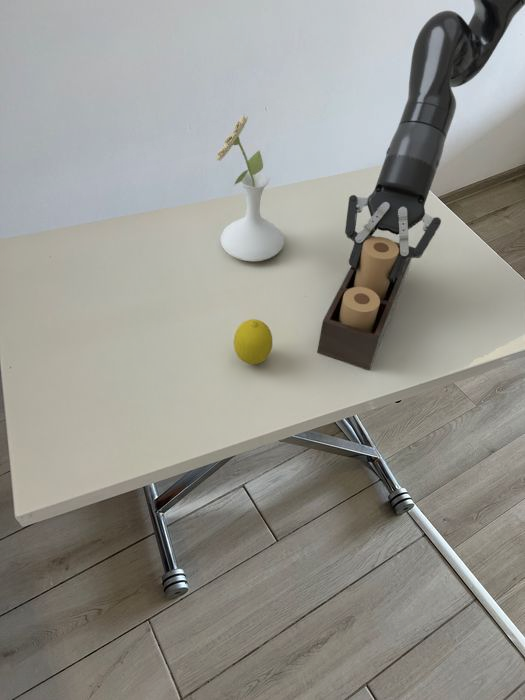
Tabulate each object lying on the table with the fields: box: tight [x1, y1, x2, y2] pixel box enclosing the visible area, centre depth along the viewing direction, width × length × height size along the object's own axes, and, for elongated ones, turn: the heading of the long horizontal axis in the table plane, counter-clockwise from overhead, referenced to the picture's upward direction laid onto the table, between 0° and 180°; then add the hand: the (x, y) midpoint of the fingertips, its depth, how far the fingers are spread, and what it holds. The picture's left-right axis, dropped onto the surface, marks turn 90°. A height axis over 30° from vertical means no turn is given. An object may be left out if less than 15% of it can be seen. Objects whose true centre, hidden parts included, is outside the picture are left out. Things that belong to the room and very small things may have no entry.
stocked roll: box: [338, 287, 380, 333], centre depth 78 cm, size 5×5×9 cm
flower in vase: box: [216, 113, 285, 262], centre depth 87 cm, size 13×11×25 cm
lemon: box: [233, 318, 273, 365], centre depth 76 cm, size 6×6×8 cm
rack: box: [316, 235, 415, 371], centre depth 84 cm, size 23×8×7 cm, turn 156°
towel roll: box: [353, 236, 399, 300], centre depth 80 cm, size 5×5×9 cm
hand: (372, 275), depth 78 cm, fingers closed on towel roll, 5 cm apart
